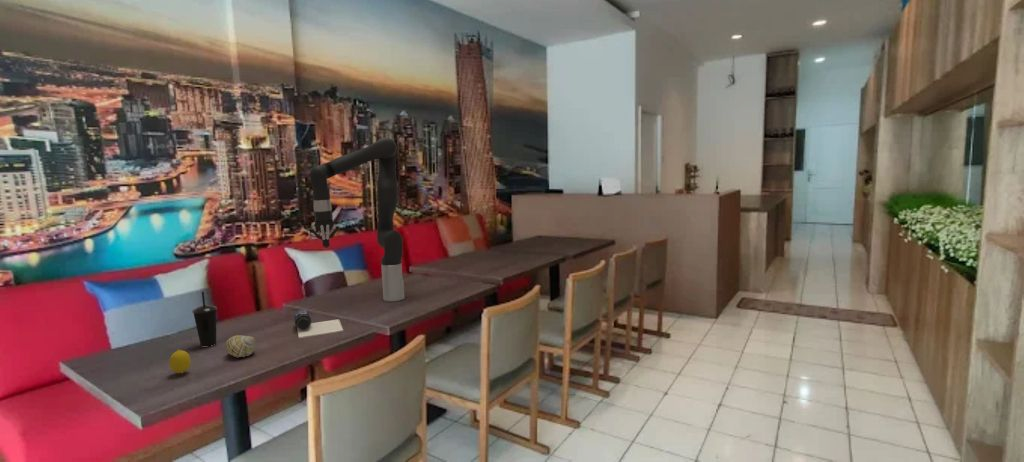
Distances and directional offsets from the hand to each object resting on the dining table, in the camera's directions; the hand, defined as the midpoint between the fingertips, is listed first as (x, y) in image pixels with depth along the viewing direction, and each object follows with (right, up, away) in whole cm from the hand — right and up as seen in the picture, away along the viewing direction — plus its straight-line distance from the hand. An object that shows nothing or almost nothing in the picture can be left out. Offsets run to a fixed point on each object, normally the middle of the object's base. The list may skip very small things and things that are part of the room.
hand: (326, 247), depth 231 cm
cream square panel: (+9, -31, -32) cm, 45 cm away
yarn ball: (-8, -36, -56) cm, 67 cm away
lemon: (-20, -38, -71) cm, 83 cm away
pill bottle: (0, -27, -26) cm, 38 cm away
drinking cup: (-26, -34, -47) cm, 63 cm away
